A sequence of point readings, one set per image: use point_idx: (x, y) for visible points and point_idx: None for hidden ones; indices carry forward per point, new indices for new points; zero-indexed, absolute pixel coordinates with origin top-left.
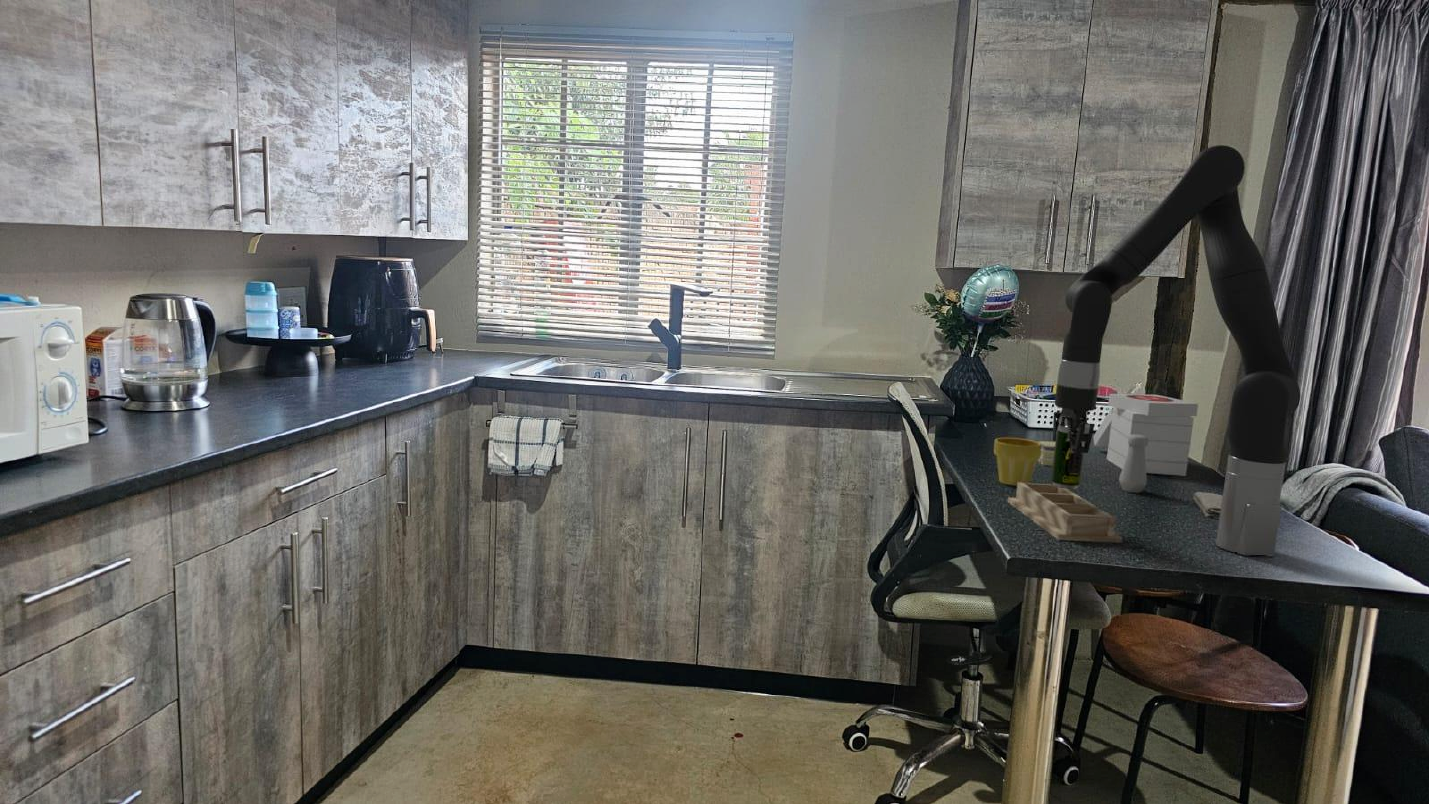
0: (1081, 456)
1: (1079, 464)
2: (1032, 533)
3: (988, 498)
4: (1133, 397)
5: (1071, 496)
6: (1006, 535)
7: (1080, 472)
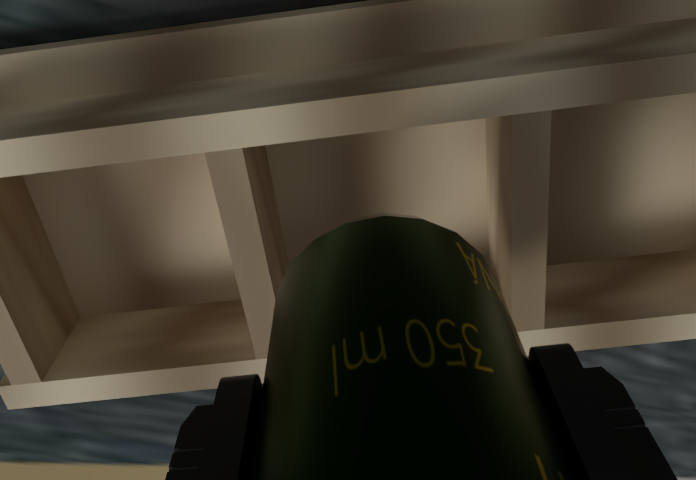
0: (638, 476)
1: (642, 423)
2: (640, 362)
3: (32, 420)
4: None
5: (247, 157)
6: (676, 455)
7: (484, 300)
